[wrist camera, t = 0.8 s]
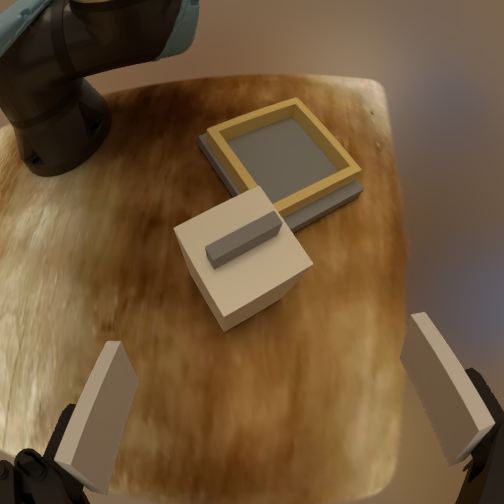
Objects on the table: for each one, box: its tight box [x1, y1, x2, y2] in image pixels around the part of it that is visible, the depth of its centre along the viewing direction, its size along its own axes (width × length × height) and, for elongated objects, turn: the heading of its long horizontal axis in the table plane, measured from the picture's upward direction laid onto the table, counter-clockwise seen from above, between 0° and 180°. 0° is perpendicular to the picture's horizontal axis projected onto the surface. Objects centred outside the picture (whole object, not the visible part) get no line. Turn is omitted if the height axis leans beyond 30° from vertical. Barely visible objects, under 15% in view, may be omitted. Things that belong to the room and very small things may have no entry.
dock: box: [198, 97, 364, 233], centre depth 35 cm, size 16×14×4 cm
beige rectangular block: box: [174, 186, 313, 332], centre depth 26 cm, size 7×7×14 cm
